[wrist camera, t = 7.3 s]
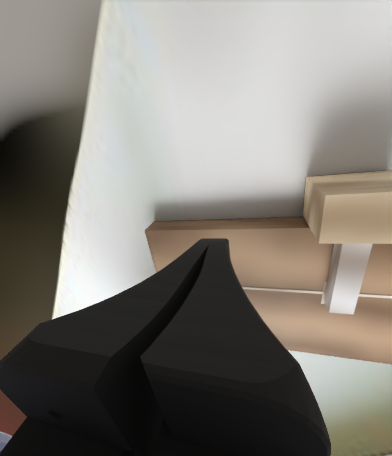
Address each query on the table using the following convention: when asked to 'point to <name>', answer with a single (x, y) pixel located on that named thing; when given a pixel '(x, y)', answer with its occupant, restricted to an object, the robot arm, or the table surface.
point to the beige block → (349, 227)
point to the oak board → (293, 283)
